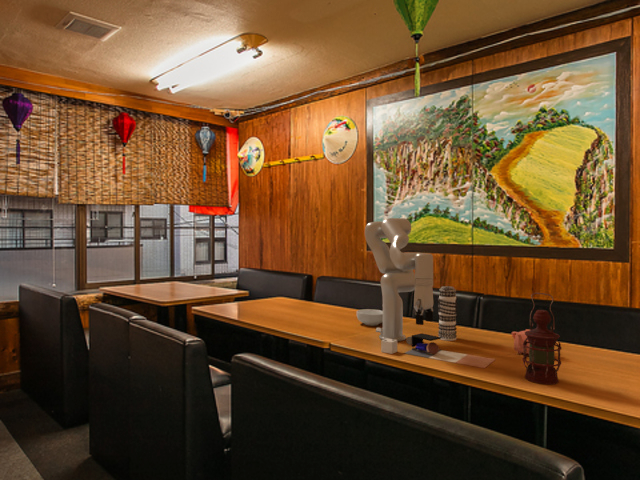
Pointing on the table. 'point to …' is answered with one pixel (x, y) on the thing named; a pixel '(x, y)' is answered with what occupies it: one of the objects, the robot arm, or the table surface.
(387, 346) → the die
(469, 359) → the game board
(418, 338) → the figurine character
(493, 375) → the table surface
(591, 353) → the table surface
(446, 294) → the decorative candle
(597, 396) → the table surface
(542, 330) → the lantern
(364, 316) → the cereal bowl
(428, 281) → the robot arm
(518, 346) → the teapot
